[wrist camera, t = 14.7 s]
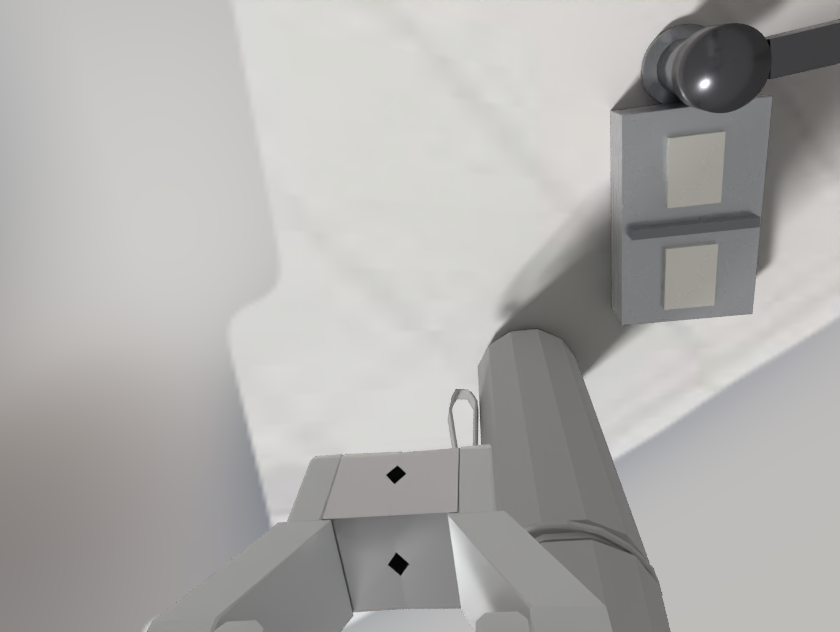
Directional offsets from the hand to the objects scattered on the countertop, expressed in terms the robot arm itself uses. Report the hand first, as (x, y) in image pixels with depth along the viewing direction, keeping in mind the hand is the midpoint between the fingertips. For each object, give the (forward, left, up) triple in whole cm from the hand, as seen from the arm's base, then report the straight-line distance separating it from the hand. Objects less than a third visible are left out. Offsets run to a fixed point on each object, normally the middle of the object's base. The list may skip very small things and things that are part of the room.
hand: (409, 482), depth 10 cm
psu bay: (+4, +14, -31) cm, 34 cm away
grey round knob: (-4, +14, -31) cm, 34 cm away
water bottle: (+15, +3, -31) cm, 35 cm away
